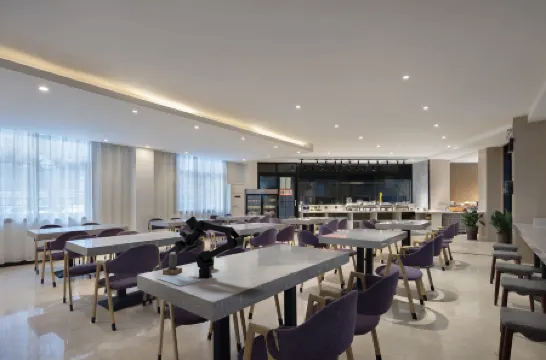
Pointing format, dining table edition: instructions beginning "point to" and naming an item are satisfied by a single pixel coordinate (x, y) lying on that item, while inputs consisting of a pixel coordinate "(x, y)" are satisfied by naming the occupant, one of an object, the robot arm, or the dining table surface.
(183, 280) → the placemat
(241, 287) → the dining table surface
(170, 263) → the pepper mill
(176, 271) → the walnut holder
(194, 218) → the robot arm
